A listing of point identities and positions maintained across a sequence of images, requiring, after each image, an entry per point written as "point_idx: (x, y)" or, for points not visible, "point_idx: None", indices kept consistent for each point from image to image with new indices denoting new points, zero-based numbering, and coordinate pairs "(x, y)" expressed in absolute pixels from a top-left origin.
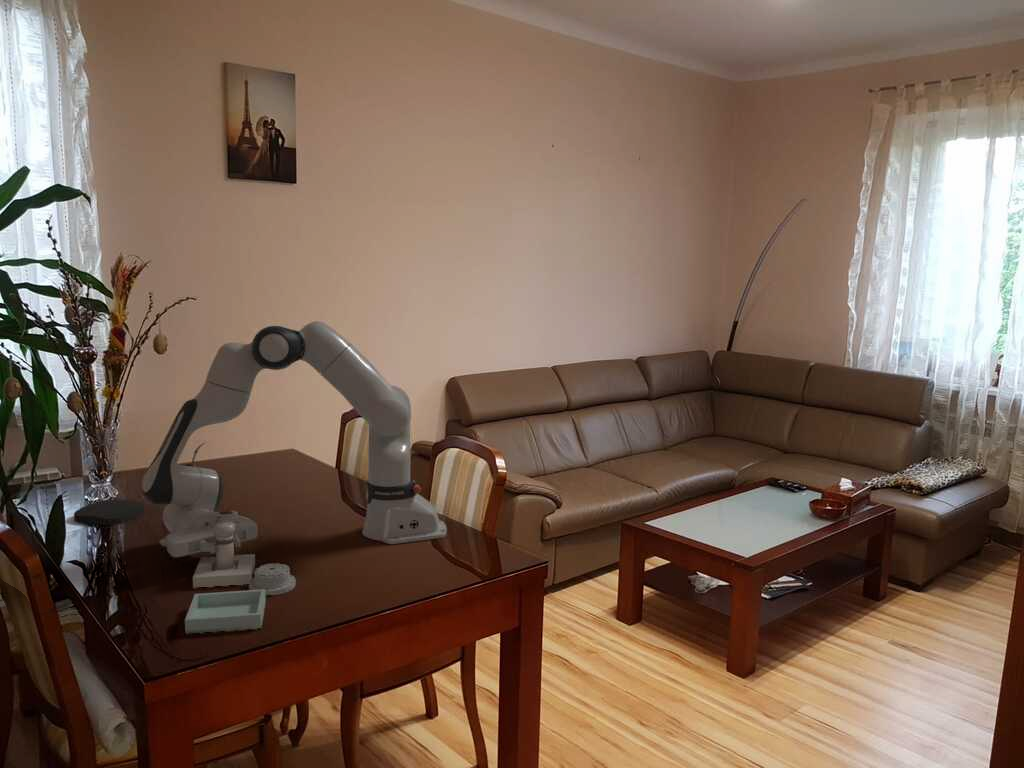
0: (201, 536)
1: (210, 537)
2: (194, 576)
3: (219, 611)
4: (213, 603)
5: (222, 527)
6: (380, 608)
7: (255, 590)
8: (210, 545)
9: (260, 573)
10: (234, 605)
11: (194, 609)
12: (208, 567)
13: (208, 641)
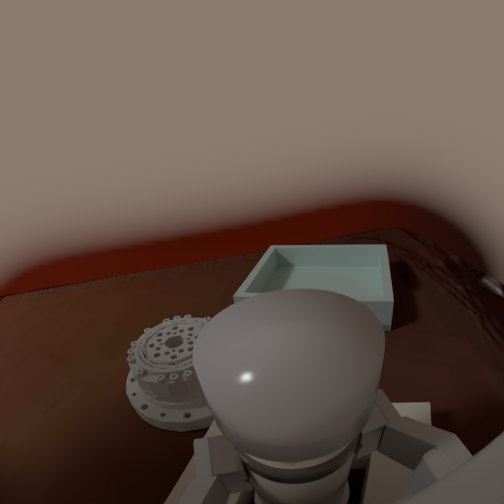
0: (471, 476)
1: (400, 502)
2: (426, 410)
3: None
4: None
5: (308, 297)
6: (114, 279)
7: (254, 295)
8: (388, 400)
9: None
10: None
11: (381, 274)
12: (380, 486)
13: None
